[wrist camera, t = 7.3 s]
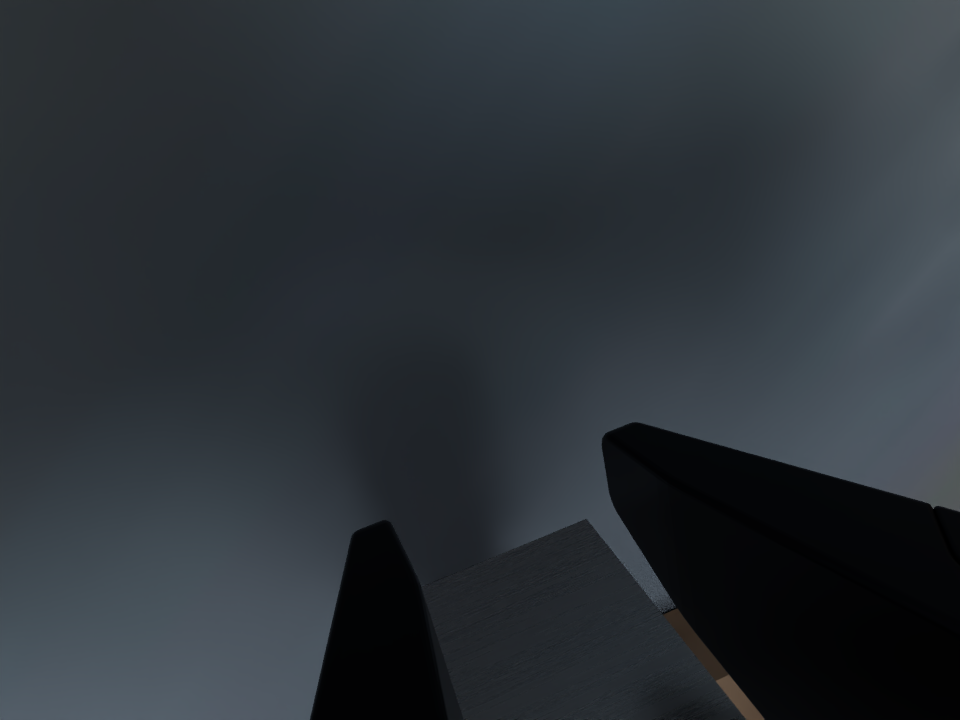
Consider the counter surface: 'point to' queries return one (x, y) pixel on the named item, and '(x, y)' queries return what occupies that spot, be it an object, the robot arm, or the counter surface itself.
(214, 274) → the counter surface
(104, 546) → the counter surface
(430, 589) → the slider
